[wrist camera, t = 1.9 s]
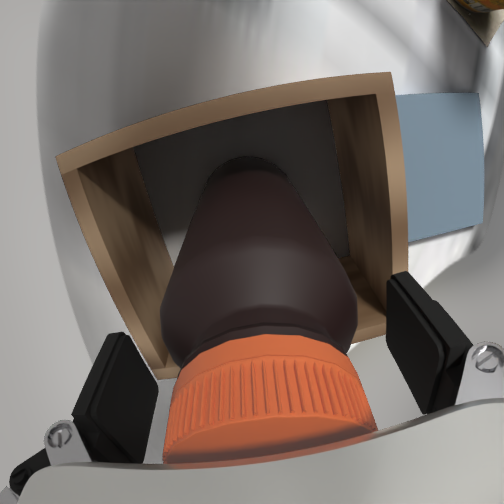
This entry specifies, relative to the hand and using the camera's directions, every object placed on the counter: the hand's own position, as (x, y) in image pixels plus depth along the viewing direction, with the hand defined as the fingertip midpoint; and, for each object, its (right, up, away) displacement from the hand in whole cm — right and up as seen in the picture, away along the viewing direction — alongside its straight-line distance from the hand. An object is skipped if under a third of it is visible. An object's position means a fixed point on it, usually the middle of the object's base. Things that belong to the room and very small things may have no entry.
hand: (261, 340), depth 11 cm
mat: (+15, +10, +12) cm, 22 cm away
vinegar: (-1, +7, +13) cm, 15 cm away
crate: (-1, +7, +13) cm, 15 cm away
